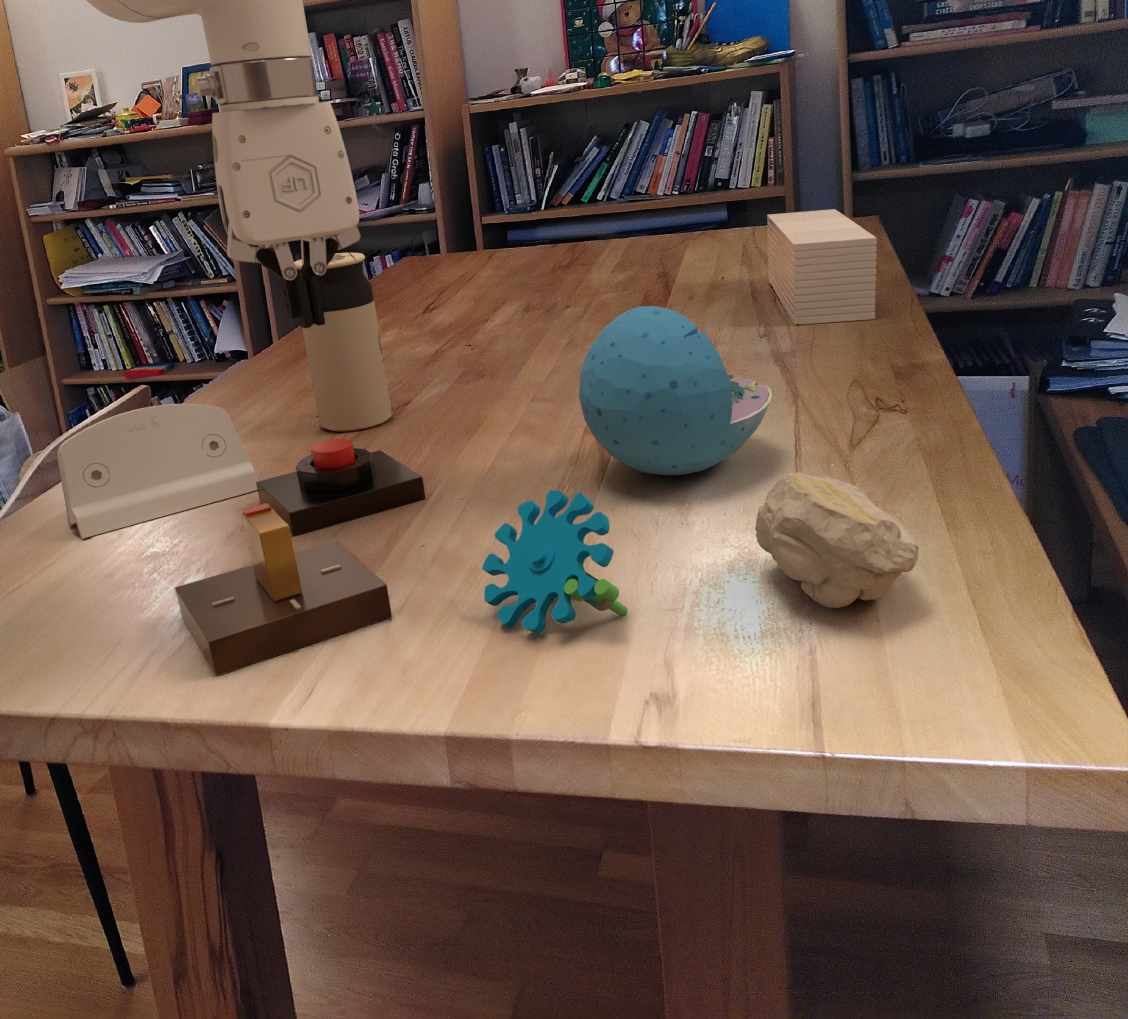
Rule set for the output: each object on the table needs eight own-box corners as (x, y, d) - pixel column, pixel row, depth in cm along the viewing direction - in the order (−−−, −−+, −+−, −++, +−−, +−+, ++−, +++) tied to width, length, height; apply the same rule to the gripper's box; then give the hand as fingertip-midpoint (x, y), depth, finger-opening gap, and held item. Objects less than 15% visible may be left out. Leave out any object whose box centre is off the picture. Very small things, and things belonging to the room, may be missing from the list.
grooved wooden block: (874, 319, 140) (876, 237, 136) (794, 325, 141) (793, 243, 137) (834, 277, 169) (835, 208, 165) (768, 282, 170) (767, 214, 166)
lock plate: (216, 676, 66) (207, 639, 65) (182, 618, 74) (173, 585, 73) (392, 617, 71) (386, 582, 70) (342, 569, 79) (336, 537, 78)
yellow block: (303, 593, 70) (288, 521, 68) (273, 602, 69) (258, 529, 67) (282, 569, 74) (268, 501, 72) (254, 577, 73) (239, 509, 71)
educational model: (812, 450, 95) (812, 284, 89) (682, 519, 83) (672, 332, 77) (677, 424, 105) (669, 274, 99) (544, 482, 93) (527, 315, 88)
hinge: (78, 539, 90) (41, 427, 89) (73, 541, 94) (38, 434, 93) (265, 487, 98) (233, 384, 97) (253, 491, 102) (222, 392, 101)
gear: (452, 586, 71) (533, 464, 72) (503, 615, 75) (579, 500, 76) (551, 662, 63) (641, 525, 64) (602, 690, 68) (686, 561, 68)
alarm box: (293, 537, 86) (284, 492, 85) (260, 504, 94) (251, 462, 93) (426, 499, 92) (419, 457, 90) (383, 471, 100) (377, 431, 98)
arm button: (322, 474, 89) (318, 455, 89) (309, 464, 92) (305, 445, 92) (361, 464, 91) (358, 445, 90) (347, 454, 94) (344, 435, 93)
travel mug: (318, 437, 112) (286, 268, 105) (322, 416, 119) (293, 257, 113) (392, 427, 113) (366, 259, 106) (392, 407, 120) (367, 249, 114)
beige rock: (819, 542, 77) (720, 596, 72) (806, 436, 74) (701, 485, 69) (961, 582, 67) (858, 648, 62) (952, 462, 64) (843, 521, 59)
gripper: (177, 94, 74) (231, 349, 81) (376, 77, 81) (410, 314, 87) (156, 98, 80) (208, 335, 87) (342, 82, 87) (377, 303, 93)
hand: (309, 323), depth 87 cm, fingers closed
